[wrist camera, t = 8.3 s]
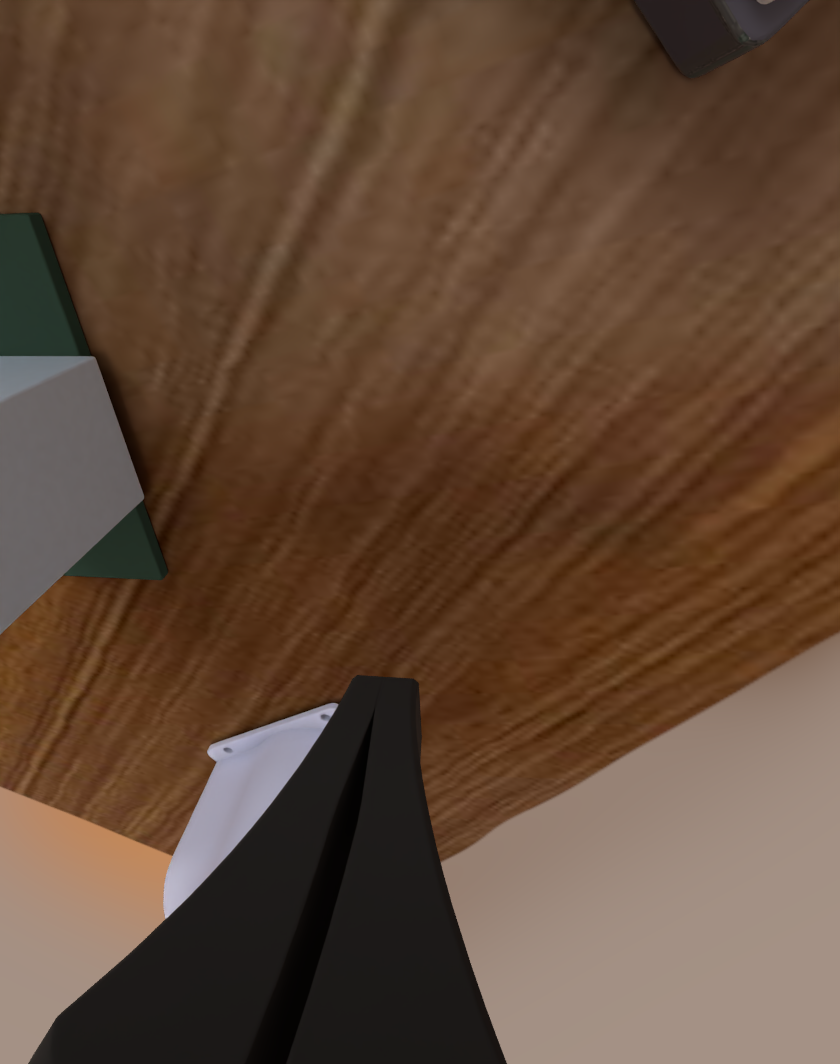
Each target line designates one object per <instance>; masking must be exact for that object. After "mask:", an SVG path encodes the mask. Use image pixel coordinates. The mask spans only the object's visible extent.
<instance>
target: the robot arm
mask: <svg viewBox="0 0 840 1064" xmlns="http://www.w3.org/2000/svg"><path fill="white" fill-rule="evenodd" d="M421 738H422V735H421V717H420V699H419V683H418V682H417V681H416V680H414V679H410V678H394V677H378V676H362V675H357V676H356V677H354V678H353V679H352V681H351V683H350V685H349V687H348V689H347V691H346V692H345V694H344V696H343V698H342V700H341V701H340V703H339V704H337V703H329V704H326V705H324V706H321V707H318V708H315V709H312V710H309V711H306V712H303V713H300V714H298V715H295V716H292V717H289V718H286V719H283V720H280V721H277V722H274V723H272V724H269V725H266V726H263V727H260V728H257V729H254V730H251V731H248V732H246V733H243V734H240V735H237V736H234V737H231V738H228V739H225V740H222V741H220V742H217V743H214V744H211V745H210V747H209V749H208V751H207V753H208V755H209V756H210V757H211V758H212V759H214V760H215V761H216V762H217V763H216V765H215V767H214V769H213V771H212V773H211V776H210V778H209V780H208V782H207V784H206V786H205V788H204V791H203V793H202V795H201V797H200V799H199V801H198V803H197V806H196V808H195V810H194V812H193V814H192V816H191V818H190V820H189V823H188V825H187V827H186V829H185V831H184V833H183V835H182V838H181V840H180V842H179V844H178V846H177V848H176V850H175V853H174V855H173V857H172V859H171V862H170V865H169V867H168V871H167V875H166V879H165V885H164V914H165V920H164V921H163V922H162V923H161V924H160V925H159V926H158V927H157V928H156V929H155V930H154V931H153V932H152V933H151V934H150V935H149V936H148V937H147V938H146V939H145V940H144V941H143V942H141V943H140V944H139V945H138V946H137V947H136V948H135V949H134V950H133V951H132V952H131V953H130V954H129V955H128V956H126V957H125V958H124V959H123V960H122V961H121V962H120V963H119V964H117V965H116V966H115V967H114V968H113V969H111V970H110V971H109V972H108V973H107V974H106V975H105V976H103V977H102V978H101V979H100V980H99V981H98V982H97V983H95V984H94V985H93V986H92V987H91V988H90V989H88V990H87V991H86V992H85V993H84V994H83V995H82V996H80V997H79V998H78V999H77V1000H76V1001H75V1002H74V1003H72V1004H71V1005H70V1006H69V1007H68V1008H66V1009H65V1010H64V1011H63V1012H62V1013H61V1014H60V1015H59V1016H58V1017H57V1018H56V1019H55V1021H54V1023H53V1024H52V1026H51V1028H50V1029H49V1031H48V1033H47V1034H46V1036H45V1037H44V1039H43V1041H42V1042H41V1044H40V1045H39V1047H38V1049H37V1050H36V1052H35V1054H34V1055H33V1057H32V1058H31V1060H30V1062H29V1063H28V1064H507V1063H506V1060H505V1058H504V1055H503V1052H502V1050H501V1047H500V1044H499V1042H498V1039H497V1036H496V1034H495V1031H494V1028H493V1026H492V1023H491V1020H490V1017H489V1015H488V1012H487V1010H486V1007H485V1004H484V1001H483V999H482V995H481V992H480V989H479V987H478V984H477V981H476V978H475V975H474V972H473V969H472V966H471V963H470V960H469V957H468V954H467V951H466V947H465V944H464V941H463V938H462V935H461V932H460V928H459V925H458V922H457V919H456V916H455V913H454V909H453V906H452V903H451V899H450V896H449V892H448V888H447V885H446V882H445V878H444V875H443V871H442V867H441V863H440V859H439V855H438V851H437V847H436V843H435V839H434V834H433V830H432V825H431V821H430V816H429V811H428V806H427V801H426V796H425V791H424V785H423V779H422V772H421V765H420V754H421Z"/></svg>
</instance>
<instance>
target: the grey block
mask: <svg viewBox="0 0 840 1064" xmlns="http://www.w3.org/2000/svg"><path fill="white" fill-rule="evenodd" d="M143 499H144V494H143V491H142V489H141V486H140V483H139V480H138V477H137V474H136V472H135V469H134V466H133V463H132V460H131V457H130V454H129V452H128V449H127V446H126V443H125V440H124V437H123V434H122V432H121V429H120V426H119V423H118V420H117V417H116V415H115V412H114V409H113V406H112V403H111V400H110V397H109V395H108V392H107V389H106V386H105V383H104V380H103V377H102V375H101V372H100V369H99V366H98V363H97V360H96V358H95V357H93V356H0V634H1V633H2V632H3V631H4V630H5V629H6V628H8V627H9V626H10V625H11V624H12V623H13V622H14V621H15V620H16V619H17V618H18V617H19V616H20V615H21V614H22V613H23V612H24V611H26V610H27V609H28V608H29V607H30V606H31V605H32V604H33V603H34V602H35V601H36V600H37V599H38V598H39V597H40V596H41V595H43V594H44V593H45V592H46V591H47V590H48V589H49V588H50V587H51V586H52V585H53V584H54V583H55V582H56V581H57V580H58V579H59V578H61V577H62V576H63V575H64V574H65V573H66V572H67V571H68V570H69V569H70V568H71V567H72V566H73V565H74V564H75V563H76V562H77V561H79V560H80V559H81V558H82V557H83V556H84V555H85V554H86V553H87V552H88V551H89V550H90V549H91V548H92V547H93V546H94V545H96V544H97V543H98V542H99V541H100V540H101V539H102V538H103V537H104V536H105V535H106V534H107V533H108V532H109V531H110V530H111V529H112V528H114V527H115V526H116V525H117V524H118V523H119V522H120V521H121V520H122V519H123V518H124V517H125V516H126V515H127V514H128V513H129V512H131V511H132V510H133V509H134V508H135V507H136V506H137V505H138V504H139V503H140V502H141V501H142V500H143Z"/></svg>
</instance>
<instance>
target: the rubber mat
mask: <svg viewBox="0 0 840 1064" xmlns="http://www.w3.org/2000/svg"><path fill="white" fill-rule="evenodd" d="M0 356H91V354H90V351H89V349H88V346H87V343H86V340H85V337H84V335H83V332H82V329H81V326H80V323H79V321H78V318H77V315H76V312H75V309H74V307H73V304H72V301H71V298H70V295H69V293H68V290H67V287H66V284H65V281H64V279H63V276H62V273H61V270H60V267H59V265H58V262H57V259H56V256H55V253H54V251H53V248H52V245H51V242H50V239H49V237H48V234H47V231H46V228H45V225H44V223H43V220H42V217H41V215H40V214H39V213H14V214H0ZM167 574H168V570H167V567H166V565H165V562H164V559H163V556H162V553H161V551H160V548H159V545H158V542H157V539H156V537H155V534H154V531H153V528H152V525H151V522H150V520H149V517H148V514H147V511H146V508H145V506H144V503H143V500H142V501H141V502H140V503H139V504H138V505H137V506H136V507H135V508H134V509H133V510H132V511H131V512H129V513H128V514H127V515H126V516H125V517H124V518H123V519H122V520H121V521H120V522H119V523H118V524H117V525H116V526H115V527H114V528H112V529H111V530H110V531H109V532H108V533H107V534H106V535H105V536H104V537H103V538H102V539H101V540H100V541H99V542H98V543H97V544H96V545H94V546H93V547H92V548H91V549H90V550H89V551H88V552H87V553H86V554H85V555H84V556H83V557H82V558H81V559H80V560H79V561H77V562H76V563H75V564H74V565H73V566H72V567H71V568H70V569H69V570H68V571H67V572H66V573H65V574H64V576H85V577H106V578H126V579H147V580H163V579H164V577H165V576H166V575H167Z"/></svg>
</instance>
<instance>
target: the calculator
mask: <svg viewBox="0 0 840 1064" xmlns="http://www.w3.org/2000/svg"><path fill="white" fill-rule="evenodd" d="M634 1H635V3H636V4H637V6H638V7H639V9H640V10H641V12H642V13H643V15H644V17H645V18H646V20H647V21H648V23H649V24H650V26H651V28H652V29H653V31H654V32H655V34H656V35H657V37H658V38H659V40H660V42H661V43H662V45H663V46H664V48H665V49H666V51H667V52H668V54H669V56H670V57H671V59H672V60H673V62H674V63H675V65H676V66H677V68H678V69H679V70H680V72H681V73H682V74H683V75H684V76H686V77H689V78H696V77H700V76H702V75H704V74H706V73H708V72H710V71H712V70H714V69H716V68H718V67H720V66H722V65H724V64H726V63H728V62H730V61H732V60H734V59H736V58H738V57H739V56H741V55H743V54H745V53H747V52H749V51H751V50H753V49H755V48H757V47H758V46H760V45H762V44H764V43H765V42H766V41H768V40H769V39H770V38H771V37H772V36H773V35H774V34H776V33H777V32H778V31H779V30H780V29H781V28H782V27H783V26H784V25H785V24H786V23H787V22H788V21H789V20H790V19H791V18H792V17H793V16H794V15H795V14H796V13H797V12H798V11H799V10H800V9H801V8H802V7H803V6H804V5H805V4H806V3H807V2H808V1H809V0H634Z"/></svg>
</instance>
